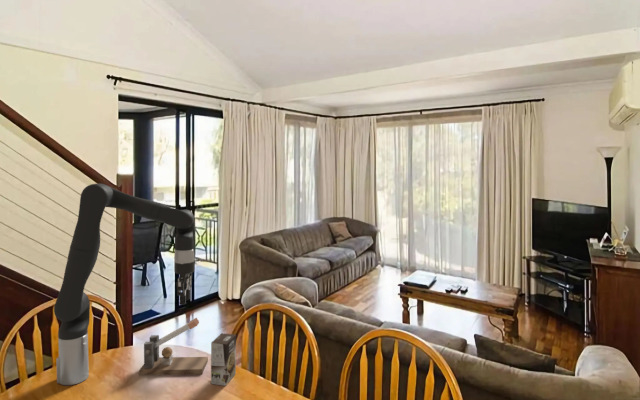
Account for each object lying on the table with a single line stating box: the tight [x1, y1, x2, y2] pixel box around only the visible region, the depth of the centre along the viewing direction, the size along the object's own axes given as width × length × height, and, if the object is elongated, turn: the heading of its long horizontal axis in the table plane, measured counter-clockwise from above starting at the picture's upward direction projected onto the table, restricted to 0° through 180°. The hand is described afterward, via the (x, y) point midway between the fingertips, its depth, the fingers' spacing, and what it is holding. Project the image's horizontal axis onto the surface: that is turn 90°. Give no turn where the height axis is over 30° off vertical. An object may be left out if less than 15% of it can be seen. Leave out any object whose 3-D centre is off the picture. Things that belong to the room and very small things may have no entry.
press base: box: [138, 334, 209, 376], centre depth 152 cm, size 24×10×12 cm, turn 94°
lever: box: [154, 317, 200, 348], centre depth 152 cm, size 22×4×2 cm, turn 94°
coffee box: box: [210, 332, 237, 387], centre depth 145 cm, size 9×6×16 cm
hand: (184, 302), depth 151 cm, fingers open, 5 cm apart
